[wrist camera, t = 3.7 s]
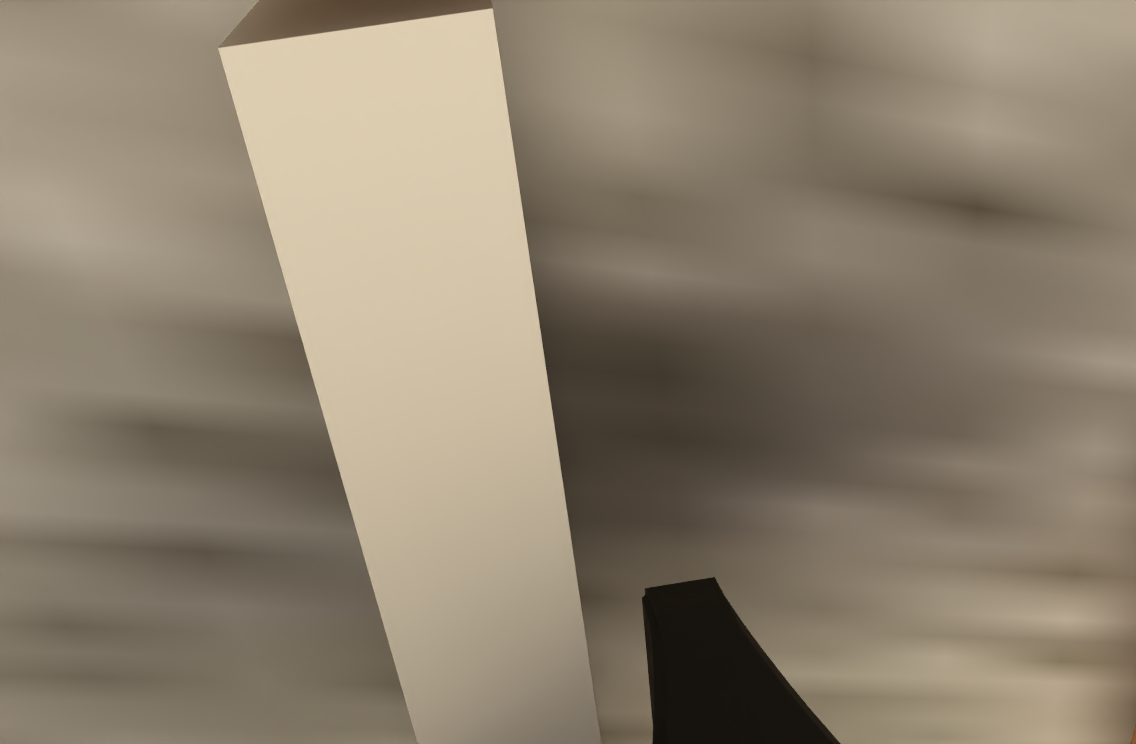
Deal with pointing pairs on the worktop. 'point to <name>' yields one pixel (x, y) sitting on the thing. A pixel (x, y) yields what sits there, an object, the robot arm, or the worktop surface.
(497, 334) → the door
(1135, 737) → the wedge
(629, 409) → the worktop surface
